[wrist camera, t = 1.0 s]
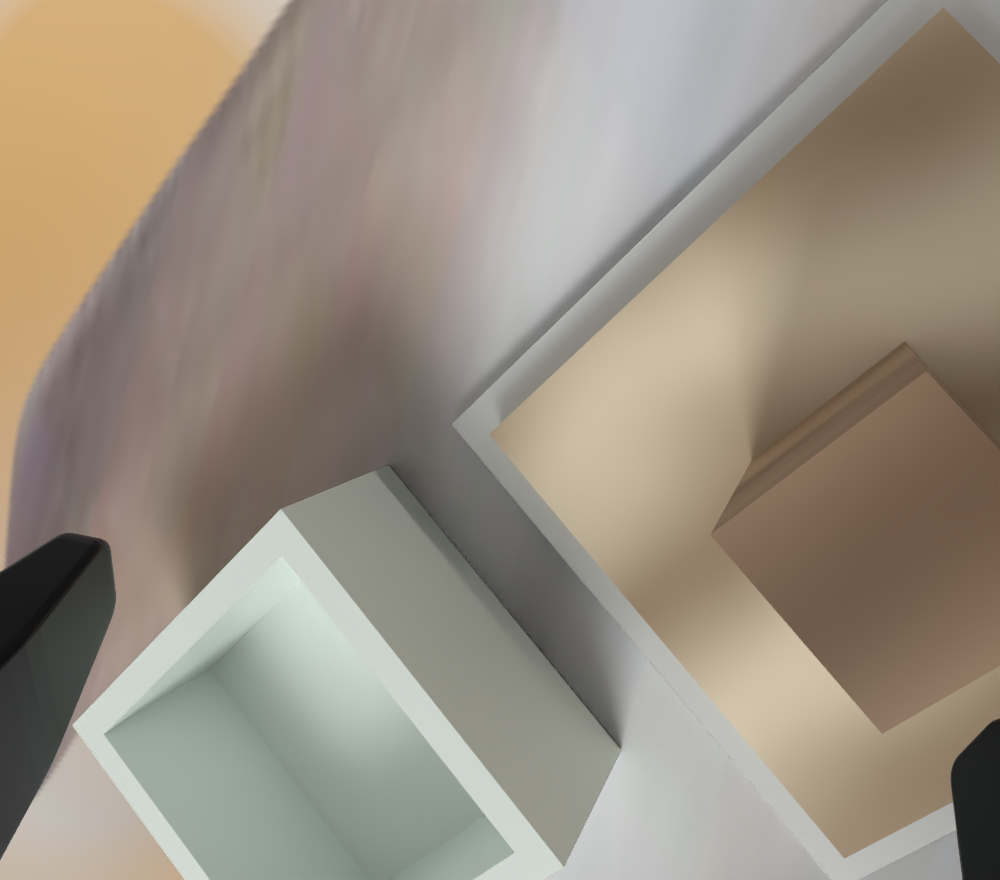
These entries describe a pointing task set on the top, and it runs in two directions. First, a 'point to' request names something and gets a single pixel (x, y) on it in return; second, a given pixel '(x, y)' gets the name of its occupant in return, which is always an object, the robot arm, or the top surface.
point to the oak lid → (816, 446)
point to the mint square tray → (351, 712)
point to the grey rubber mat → (910, 5)
